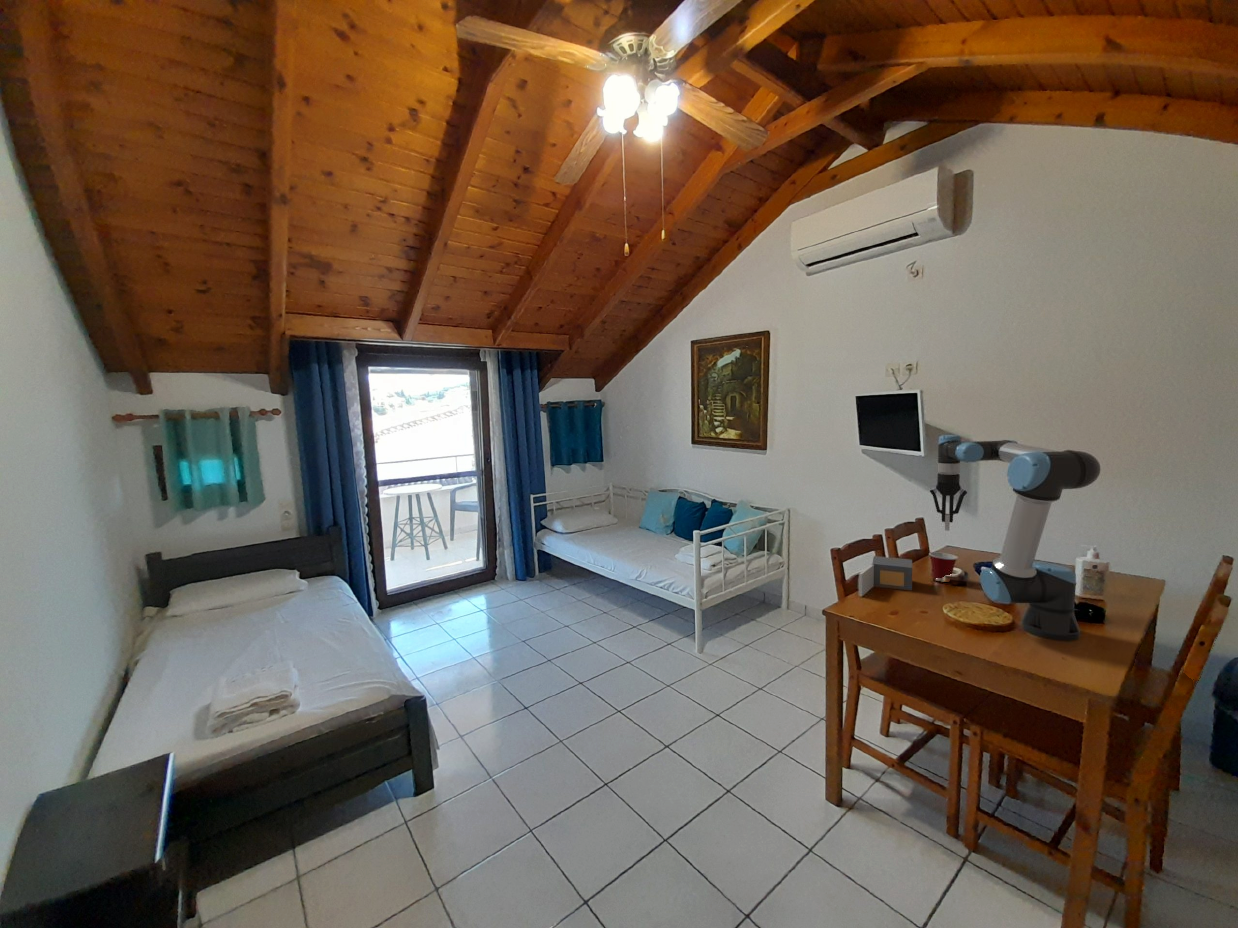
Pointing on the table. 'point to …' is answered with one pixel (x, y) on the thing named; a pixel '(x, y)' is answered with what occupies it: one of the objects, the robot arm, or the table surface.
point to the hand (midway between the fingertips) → (946, 529)
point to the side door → (866, 580)
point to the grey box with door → (893, 573)
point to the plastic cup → (942, 564)
